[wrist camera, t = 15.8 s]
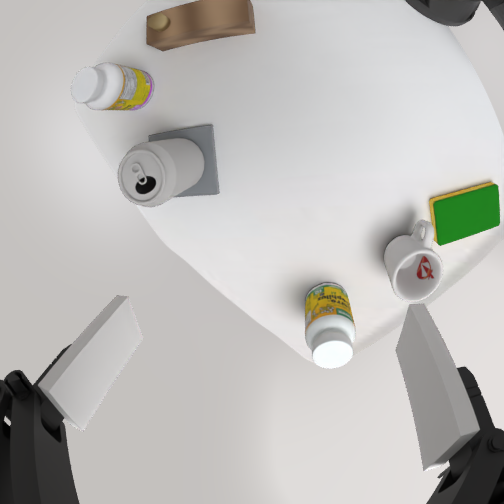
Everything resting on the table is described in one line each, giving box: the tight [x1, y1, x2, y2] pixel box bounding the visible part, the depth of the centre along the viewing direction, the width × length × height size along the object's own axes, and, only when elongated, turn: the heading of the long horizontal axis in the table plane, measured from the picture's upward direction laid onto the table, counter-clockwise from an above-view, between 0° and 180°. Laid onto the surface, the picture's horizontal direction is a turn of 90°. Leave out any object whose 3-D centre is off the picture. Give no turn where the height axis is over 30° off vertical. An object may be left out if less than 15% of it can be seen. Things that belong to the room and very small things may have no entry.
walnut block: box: [147, 0, 255, 51], centre depth 26 cm, size 14×5×7 cm, turn 94°
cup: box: [384, 220, 443, 302], centre depth 34 cm, size 11×8×8 cm
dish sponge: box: [429, 182, 500, 246], centre depth 33 cm, size 7×14×2 cm, turn 111°
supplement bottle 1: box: [71, 63, 154, 110], centre depth 28 cm, size 7×7×13 cm
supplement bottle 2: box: [305, 283, 356, 368], centre depth 38 cm, size 7×7×13 cm
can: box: [118, 138, 205, 207], centre depth 32 cm, size 8×8×12 cm
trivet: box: [149, 125, 219, 197], centre depth 38 cm, size 10×10×1 cm
